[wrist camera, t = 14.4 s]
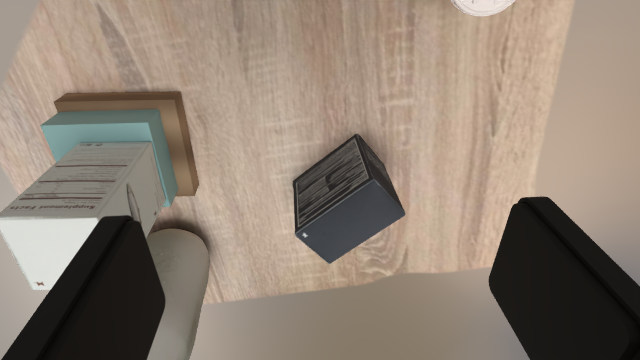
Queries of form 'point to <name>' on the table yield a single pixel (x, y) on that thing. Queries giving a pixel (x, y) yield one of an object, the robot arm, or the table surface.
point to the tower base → (171, 121)
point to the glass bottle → (178, 290)
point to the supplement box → (79, 205)
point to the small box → (344, 200)
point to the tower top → (113, 136)
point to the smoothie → (481, 6)
